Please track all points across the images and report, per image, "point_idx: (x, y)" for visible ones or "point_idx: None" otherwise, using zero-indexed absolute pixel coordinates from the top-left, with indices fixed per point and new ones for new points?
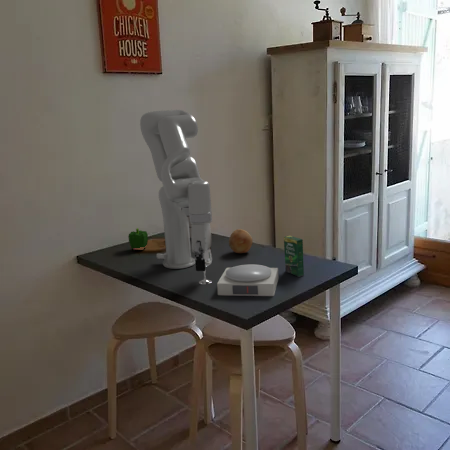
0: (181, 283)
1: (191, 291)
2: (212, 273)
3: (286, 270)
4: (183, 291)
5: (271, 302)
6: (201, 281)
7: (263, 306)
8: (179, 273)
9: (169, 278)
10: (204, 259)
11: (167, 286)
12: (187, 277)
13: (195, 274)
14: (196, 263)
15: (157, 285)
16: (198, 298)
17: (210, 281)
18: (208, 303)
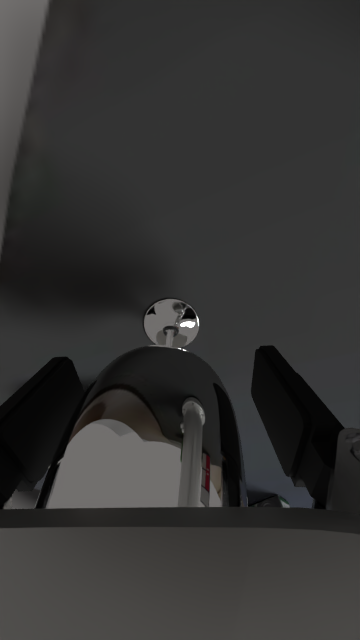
0: (135, 209)
1: (52, 301)
2: (289, 323)
3: (274, 501)
4: (37, 265)
5: None
6: (163, 313)
7: (39, 482)
8: (325, 105)
9: (216, 56)
10: (22, 490)
11: (65, 126)
12: (236, 208)
13: (285, 241)
14: (14, 404)
15: (54, 8)
16: (2, 348)
17: (175, 345)
18: None
